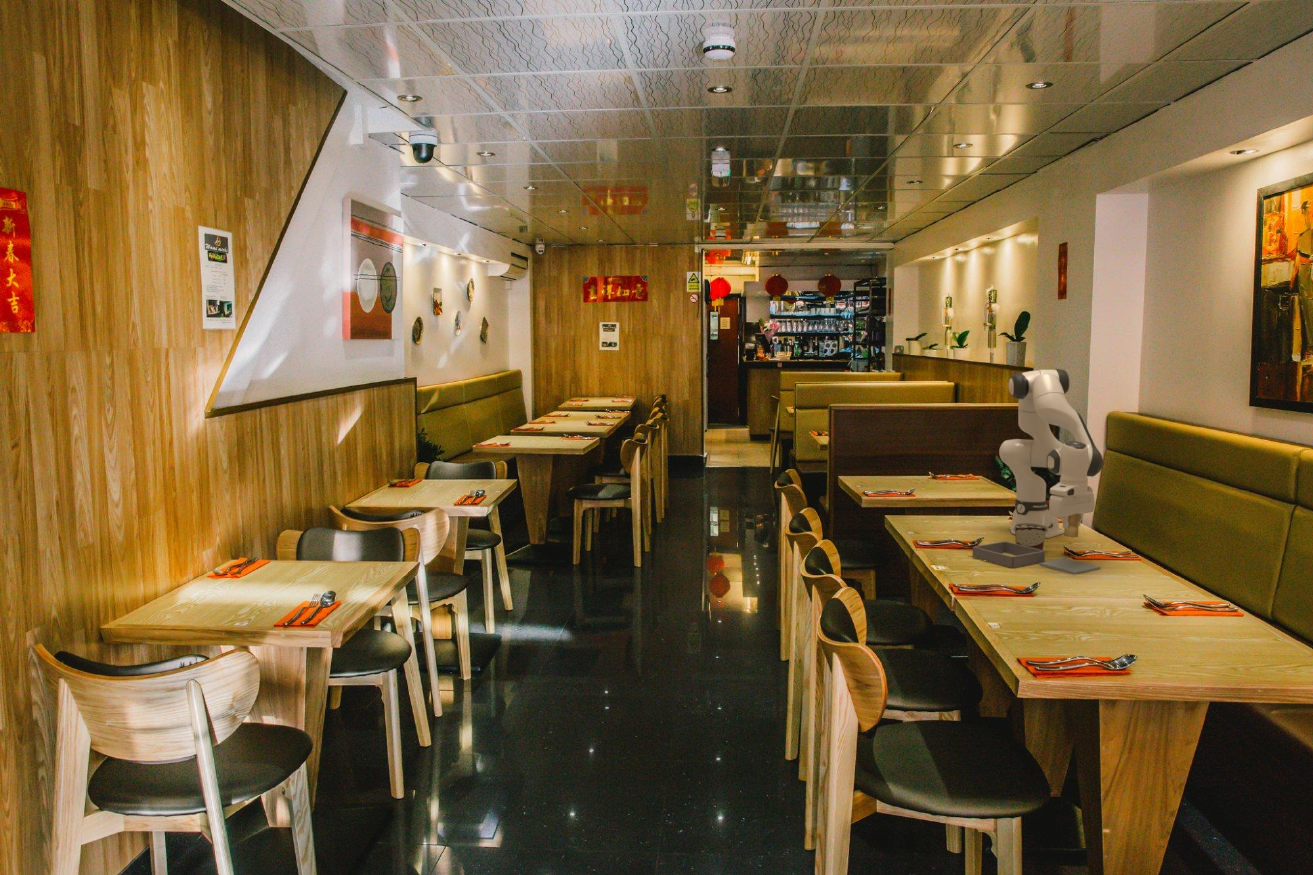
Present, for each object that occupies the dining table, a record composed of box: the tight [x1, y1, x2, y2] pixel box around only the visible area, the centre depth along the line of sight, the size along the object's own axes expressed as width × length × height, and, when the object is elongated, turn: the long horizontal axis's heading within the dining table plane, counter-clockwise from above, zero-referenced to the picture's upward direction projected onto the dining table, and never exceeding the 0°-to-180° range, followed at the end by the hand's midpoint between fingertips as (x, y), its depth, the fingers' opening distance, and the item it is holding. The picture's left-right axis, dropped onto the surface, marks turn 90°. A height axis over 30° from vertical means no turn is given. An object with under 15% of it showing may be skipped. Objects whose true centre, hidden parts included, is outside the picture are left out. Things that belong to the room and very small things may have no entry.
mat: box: [1039, 557, 1101, 575], centre depth 313 cm, size 14×14×1 cm
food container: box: [1013, 523, 1048, 550], centre depth 337 cm, size 12×6×10 cm, turn 84°
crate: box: [972, 540, 1046, 569], centre depth 324 cm, size 18×18×4 cm
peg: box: [1063, 514, 1080, 538], centre depth 311 cm, size 4×4×8 cm
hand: (1071, 526), depth 311 cm, fingers closed on peg, 4 cm apart
